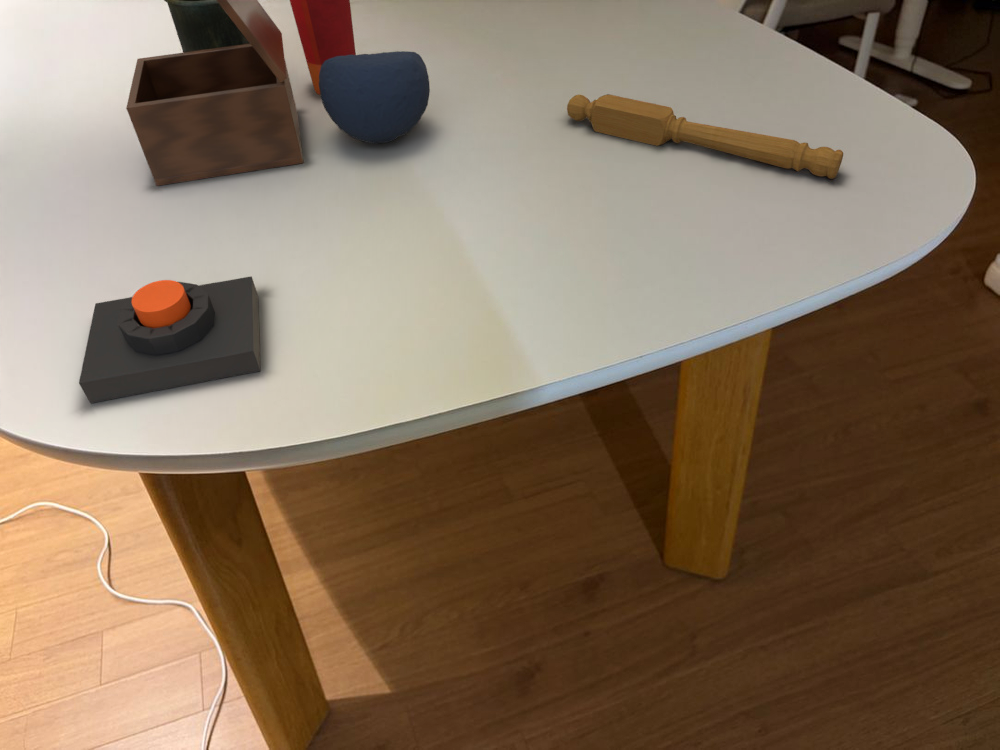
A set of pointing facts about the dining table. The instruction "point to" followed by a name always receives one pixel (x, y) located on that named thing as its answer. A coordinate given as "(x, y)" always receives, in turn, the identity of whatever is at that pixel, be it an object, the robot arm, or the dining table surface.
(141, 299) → the button
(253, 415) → the dining table surface
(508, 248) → the dining table surface
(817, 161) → the wooden table leg
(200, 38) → the mug
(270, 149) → the box
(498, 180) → the dining table surface
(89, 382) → the switch block
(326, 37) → the red tall block
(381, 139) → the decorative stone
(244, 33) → the box lid
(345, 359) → the dining table surface
